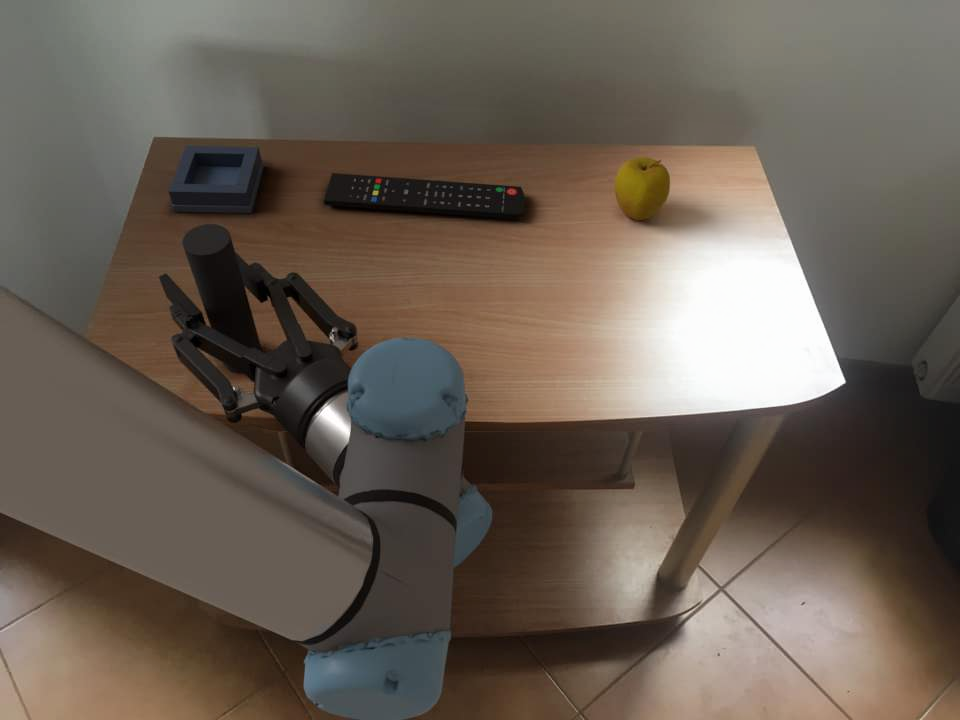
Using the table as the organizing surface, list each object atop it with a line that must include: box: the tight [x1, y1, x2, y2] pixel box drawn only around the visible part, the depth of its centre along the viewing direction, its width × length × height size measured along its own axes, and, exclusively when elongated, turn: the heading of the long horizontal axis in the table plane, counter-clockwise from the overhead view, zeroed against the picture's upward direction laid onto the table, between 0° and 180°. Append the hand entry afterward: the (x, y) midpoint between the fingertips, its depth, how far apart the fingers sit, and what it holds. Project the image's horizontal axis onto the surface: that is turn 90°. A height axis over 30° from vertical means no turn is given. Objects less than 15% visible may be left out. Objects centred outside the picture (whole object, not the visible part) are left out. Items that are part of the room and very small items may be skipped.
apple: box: [614, 157, 671, 221], centre depth 93 cm, size 6×6×8 cm
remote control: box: [323, 172, 526, 220], centre depth 96 cm, size 5×24×1 cm, turn 86°
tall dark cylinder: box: [181, 223, 263, 374], centre depth 73 cm, size 4×4×16 cm
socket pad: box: [168, 144, 265, 214], centre depth 95 cm, size 9×9×3 cm
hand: (196, 270), depth 75 cm, fingers open, 6 cm apart
